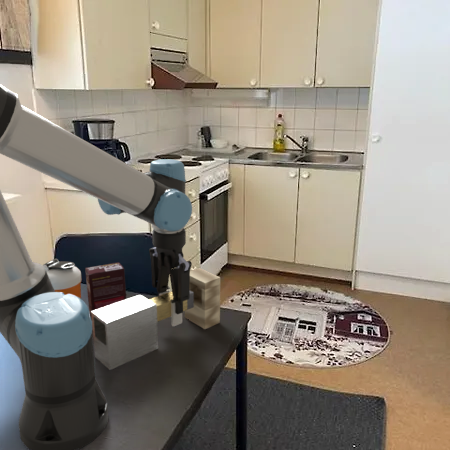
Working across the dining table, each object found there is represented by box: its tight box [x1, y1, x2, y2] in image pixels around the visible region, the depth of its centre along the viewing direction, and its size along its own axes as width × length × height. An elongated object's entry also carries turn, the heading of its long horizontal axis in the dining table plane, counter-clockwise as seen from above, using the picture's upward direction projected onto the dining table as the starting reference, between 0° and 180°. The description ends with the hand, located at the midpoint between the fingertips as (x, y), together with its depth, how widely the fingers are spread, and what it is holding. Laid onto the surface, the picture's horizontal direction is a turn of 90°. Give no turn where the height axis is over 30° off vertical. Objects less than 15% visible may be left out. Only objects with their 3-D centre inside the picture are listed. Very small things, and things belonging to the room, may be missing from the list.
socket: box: [184, 267, 221, 330], centre depth 118 cm, size 5×8×13 cm, turn 43°
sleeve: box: [91, 294, 159, 371], centre depth 104 cm, size 12×7×11 cm, turn 133°
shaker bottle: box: [42, 258, 82, 299], centre depth 106 cm, size 9×9×20 cm
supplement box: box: [85, 261, 127, 330], centre depth 114 cm, size 9×5×16 cm, turn 117°
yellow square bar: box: [148, 290, 194, 323], centre depth 108 cm, size 20×4×4 cm, turn 133°
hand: (170, 320), depth 112 cm, fingers closed on yellow square bar, 4 cm apart
